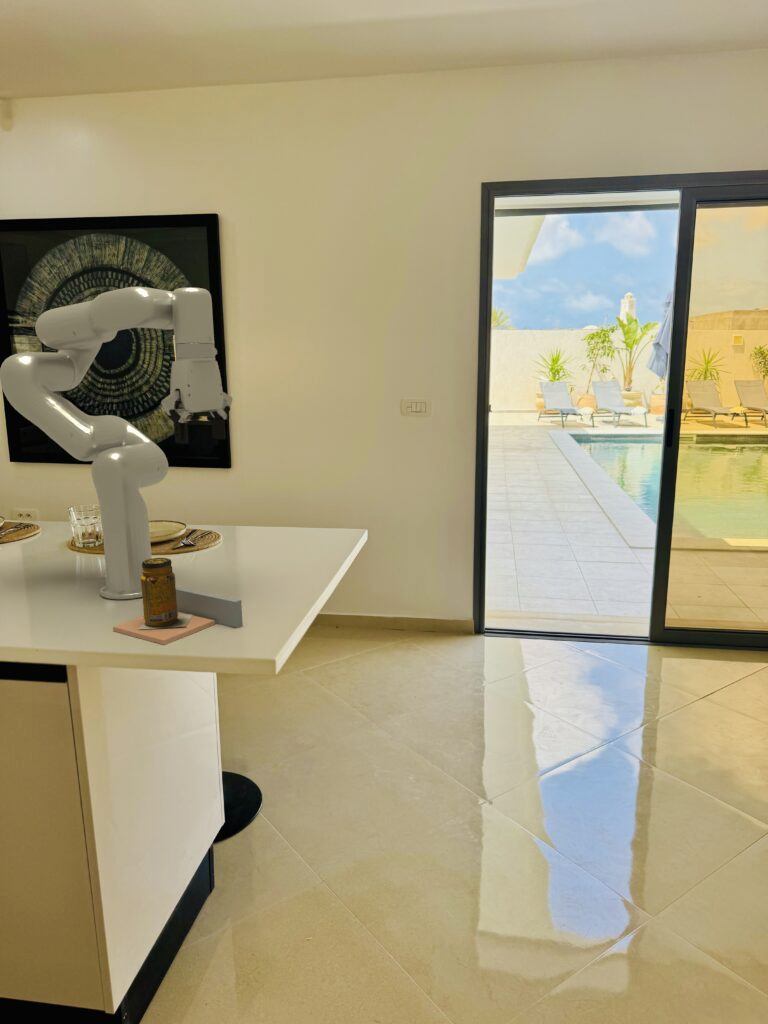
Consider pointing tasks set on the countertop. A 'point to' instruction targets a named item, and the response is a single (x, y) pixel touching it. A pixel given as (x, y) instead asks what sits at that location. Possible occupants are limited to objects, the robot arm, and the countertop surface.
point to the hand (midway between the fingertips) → (201, 441)
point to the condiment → (160, 595)
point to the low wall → (210, 606)
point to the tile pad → (163, 629)
